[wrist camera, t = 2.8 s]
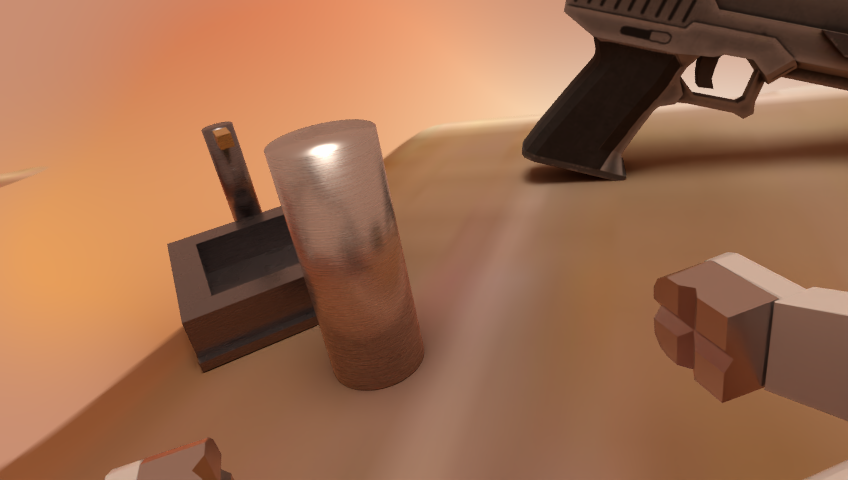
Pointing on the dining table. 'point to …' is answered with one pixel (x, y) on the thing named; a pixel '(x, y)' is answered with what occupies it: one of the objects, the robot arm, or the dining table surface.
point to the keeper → (239, 269)
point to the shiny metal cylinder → (349, 249)
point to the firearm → (679, 67)
